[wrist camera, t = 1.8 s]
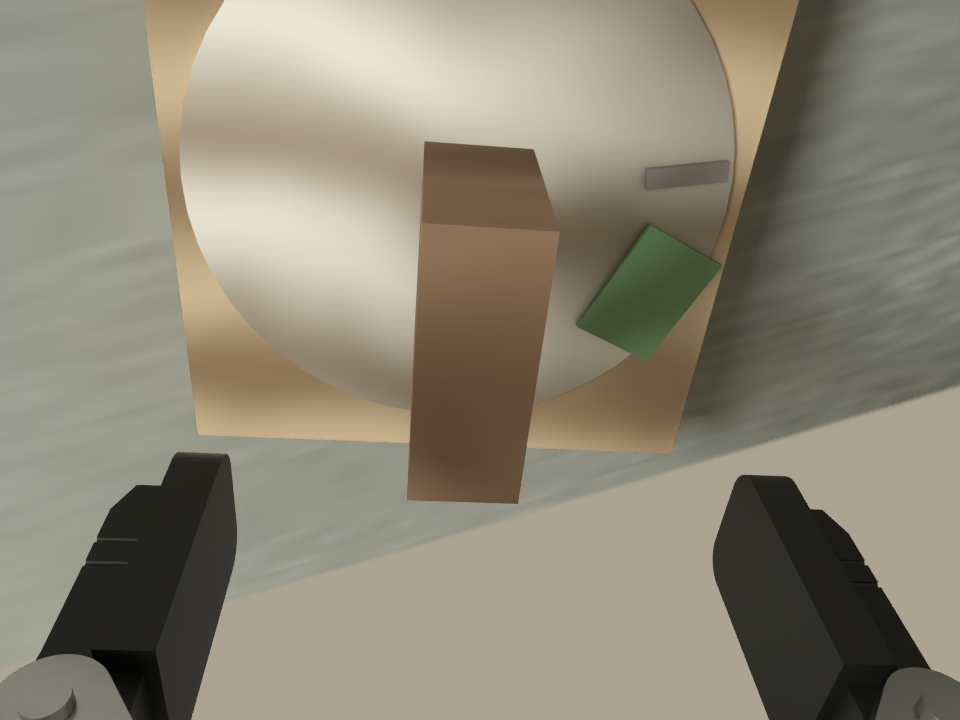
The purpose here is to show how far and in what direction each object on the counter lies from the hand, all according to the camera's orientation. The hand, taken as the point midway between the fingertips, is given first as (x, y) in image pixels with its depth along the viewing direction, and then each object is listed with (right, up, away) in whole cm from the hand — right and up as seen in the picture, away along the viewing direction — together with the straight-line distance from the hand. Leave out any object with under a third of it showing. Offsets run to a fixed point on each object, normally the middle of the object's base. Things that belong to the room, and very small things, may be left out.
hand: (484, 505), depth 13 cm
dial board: (-1, +9, +14) cm, 17 cm away
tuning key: (-1, +5, +12) cm, 13 cm away
